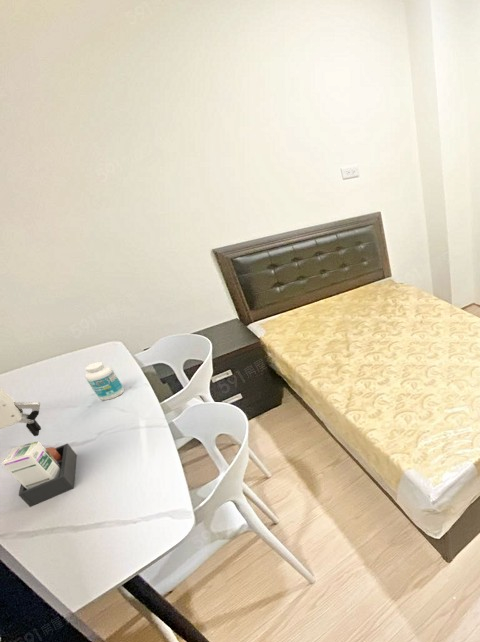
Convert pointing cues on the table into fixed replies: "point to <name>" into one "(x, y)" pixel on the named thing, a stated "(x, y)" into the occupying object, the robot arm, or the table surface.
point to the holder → (53, 480)
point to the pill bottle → (103, 381)
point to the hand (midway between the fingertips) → (11, 442)
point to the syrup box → (31, 465)
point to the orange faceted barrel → (54, 453)
